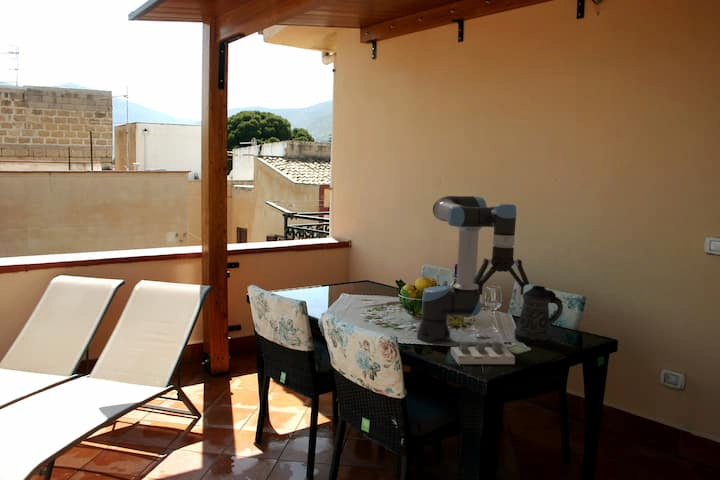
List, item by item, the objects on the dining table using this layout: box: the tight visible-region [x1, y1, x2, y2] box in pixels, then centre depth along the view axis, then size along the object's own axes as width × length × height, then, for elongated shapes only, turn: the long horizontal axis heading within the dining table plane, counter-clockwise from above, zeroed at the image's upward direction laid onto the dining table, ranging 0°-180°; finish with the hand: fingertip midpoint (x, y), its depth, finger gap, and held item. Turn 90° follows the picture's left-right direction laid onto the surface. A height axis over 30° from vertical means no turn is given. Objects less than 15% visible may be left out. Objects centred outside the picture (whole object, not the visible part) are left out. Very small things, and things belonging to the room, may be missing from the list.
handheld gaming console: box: [490, 339, 532, 355], centre depth 259 cm, size 10×2×15 cm
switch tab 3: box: [492, 341, 502, 353], centre depth 246 cm, size 4×3×4 cm
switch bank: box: [450, 346, 516, 365], centre depth 243 cm, size 13×23×3 cm, turn 95°
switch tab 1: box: [459, 340, 469, 353], centre depth 244 cm, size 4×3×4 cm
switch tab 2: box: [475, 340, 486, 353], centre depth 245 cm, size 4×3×4 cm
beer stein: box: [514, 285, 564, 346], centre depth 271 cm, size 16×19×25 cm
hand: (499, 303), depth 220 cm, fingers open, 13 cm apart
